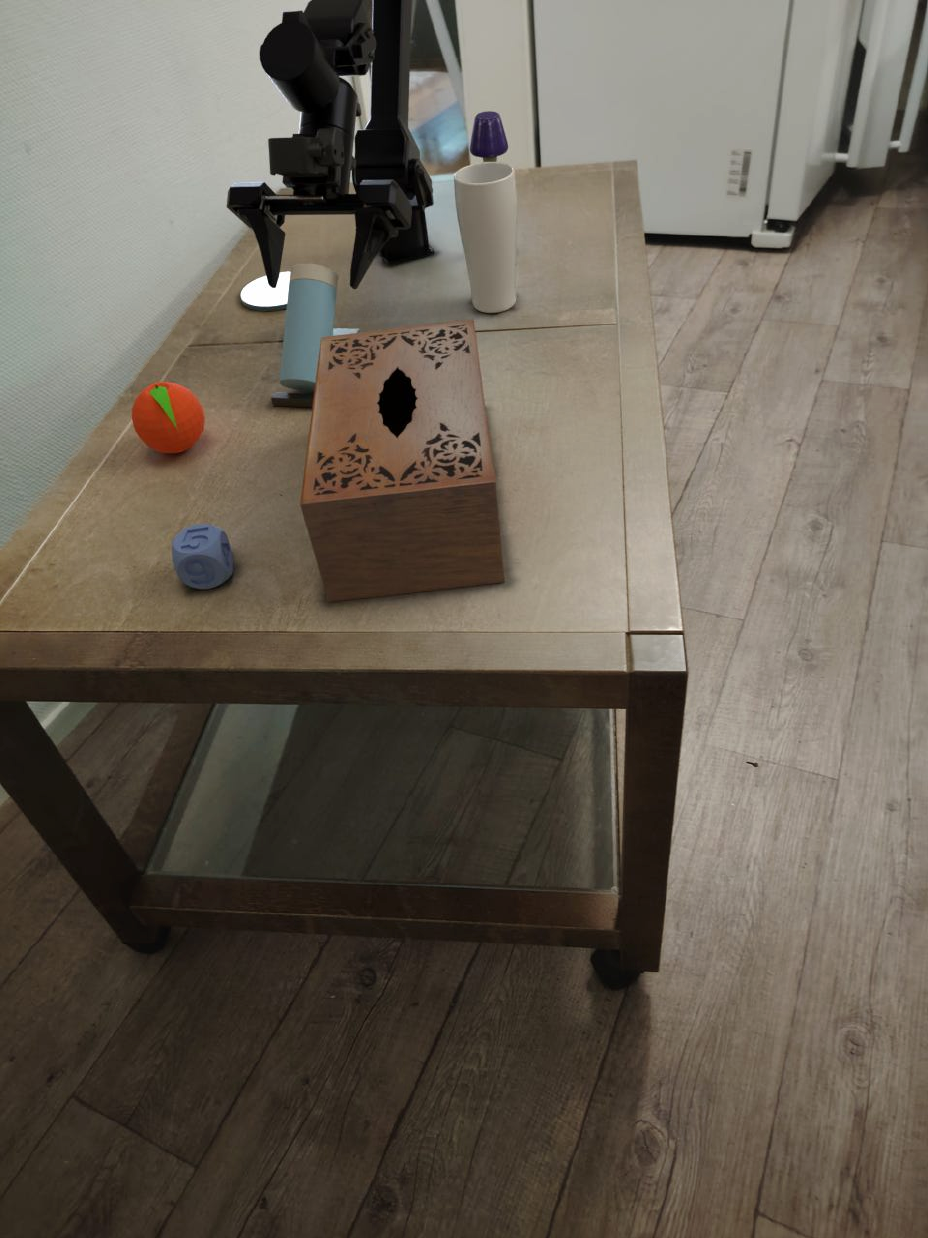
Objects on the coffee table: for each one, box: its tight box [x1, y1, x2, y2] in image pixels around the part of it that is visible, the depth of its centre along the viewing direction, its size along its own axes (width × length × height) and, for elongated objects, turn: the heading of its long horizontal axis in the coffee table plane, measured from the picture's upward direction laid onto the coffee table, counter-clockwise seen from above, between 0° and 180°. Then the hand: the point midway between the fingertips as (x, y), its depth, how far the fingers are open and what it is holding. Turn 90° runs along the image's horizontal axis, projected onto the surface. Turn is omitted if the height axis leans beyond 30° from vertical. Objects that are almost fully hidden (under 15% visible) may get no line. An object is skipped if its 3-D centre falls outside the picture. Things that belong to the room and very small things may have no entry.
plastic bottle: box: [278, 263, 339, 393], centre depth 94 cm, size 12×5×12 cm, turn 166°
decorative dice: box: [171, 523, 234, 590], centre depth 75 cm, size 4×4×4 cm
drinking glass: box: [453, 161, 518, 314], centre depth 102 cm, size 7×7×15 cm
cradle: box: [270, 327, 361, 408], centre depth 97 cm, size 11×7×4 cm, turn 166°
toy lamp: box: [469, 110, 509, 163], centre depth 111 cm, size 5×5×17 cm
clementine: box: [131, 381, 206, 454], centre depth 89 cm, size 8×7×7 cm
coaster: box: [239, 271, 290, 312], centre depth 115 cm, size 10×10×1 cm
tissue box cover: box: [299, 318, 506, 603], centre depth 78 cm, size 26×14×10 cm, turn 3°
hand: (312, 287), depth 94 cm, fingers open, 9 cm apart
